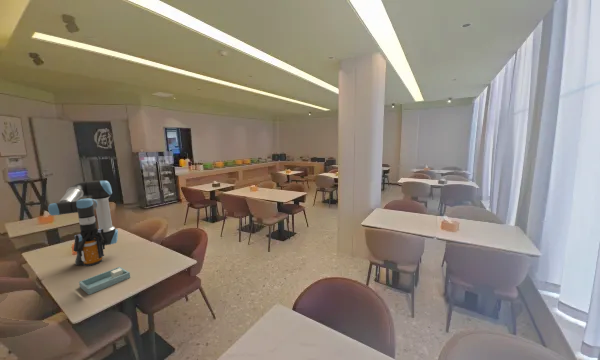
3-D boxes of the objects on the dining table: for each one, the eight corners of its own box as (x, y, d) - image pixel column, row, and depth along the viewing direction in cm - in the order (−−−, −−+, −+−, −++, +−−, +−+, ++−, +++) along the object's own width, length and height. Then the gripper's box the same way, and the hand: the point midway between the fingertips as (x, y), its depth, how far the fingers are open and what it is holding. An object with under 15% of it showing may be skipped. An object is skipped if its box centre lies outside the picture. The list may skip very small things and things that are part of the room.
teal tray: (80, 288, 149) (78, 281, 149) (120, 272, 168) (119, 266, 167) (89, 295, 141) (88, 289, 140) (130, 278, 159) (129, 272, 159)
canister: (91, 261, 153) (87, 231, 150) (109, 259, 154) (105, 231, 151) (80, 267, 144) (75, 237, 141) (99, 266, 145) (94, 236, 142)
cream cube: (111, 278, 159) (110, 271, 158) (120, 274, 163) (119, 268, 162) (114, 280, 156) (113, 273, 155) (123, 276, 160) (122, 269, 160)
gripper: (66, 229, 134) (72, 266, 137) (111, 219, 152) (115, 252, 155) (62, 227, 138) (68, 263, 141) (106, 218, 156) (111, 249, 159)
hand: (93, 257), depth 148 cm, fingers closed on canister, 9 cm apart
